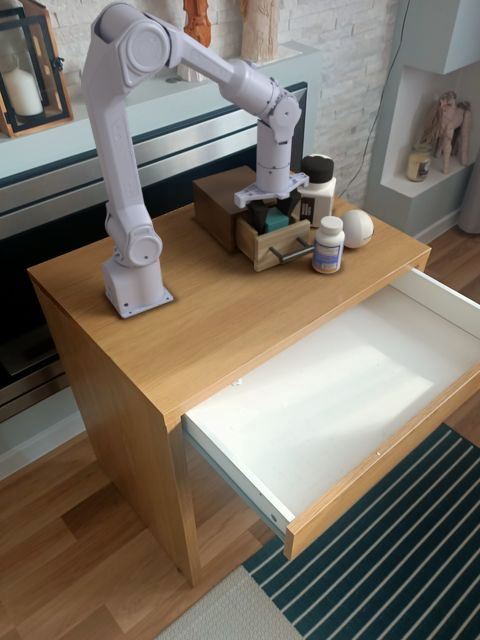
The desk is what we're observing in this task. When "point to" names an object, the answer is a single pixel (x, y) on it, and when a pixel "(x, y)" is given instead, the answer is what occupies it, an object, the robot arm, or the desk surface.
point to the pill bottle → (328, 245)
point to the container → (316, 189)
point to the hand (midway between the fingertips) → (270, 230)
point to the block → (275, 220)
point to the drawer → (272, 241)
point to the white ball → (356, 228)
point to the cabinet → (223, 203)
